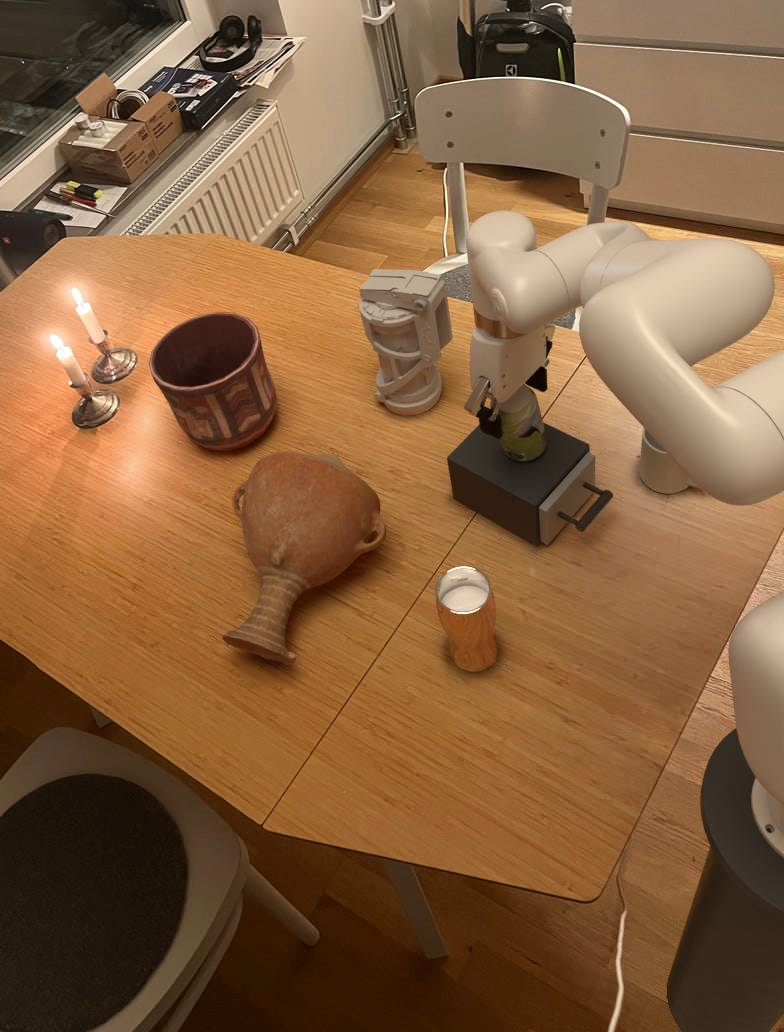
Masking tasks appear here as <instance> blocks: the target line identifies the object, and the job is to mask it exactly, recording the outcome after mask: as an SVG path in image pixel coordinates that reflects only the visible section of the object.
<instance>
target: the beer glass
mask: <svg viewBox="0 0 784 1032" xmlns="http://www.w3.org/2000/svg"><path fill="white" fill-rule="evenodd" d="M491 583H492V582H491V581H490V579H489V577H488V575H487V574H486V573H485V572H483V571H482V570H481V569H479V568H477V567H475V566H471V565H458V566H454V567H451V568H449V569H447V570H446V571H444V572H443V573H442V574H441V575H440V576H439V578H438V579H437V581H436V584H435V588H434V593H435V602H436V604H435V605H436V612H437V616H438V619H439V622H440V625H441V627H442V629H443V631H444V632H445V635H447V637H448V640H450V643H449V654H450V658H451V660H452V662H453V663H454V664H455V665H456V666H457V667H458V668H459V669H461V670H463V671H466V672H470V673H479V672H483V671H485V670H487V669H489V668H490V667H491V666H492V665H493V664H494V663H495V662H496V659H497V657H498V654H499V653H498V652H499V647H498V643H497V641H496V639H495V637H494V630H495V624H496V620H497V605H496V599H495V595H494V591H493V588H492V584H491Z"/></svg>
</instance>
